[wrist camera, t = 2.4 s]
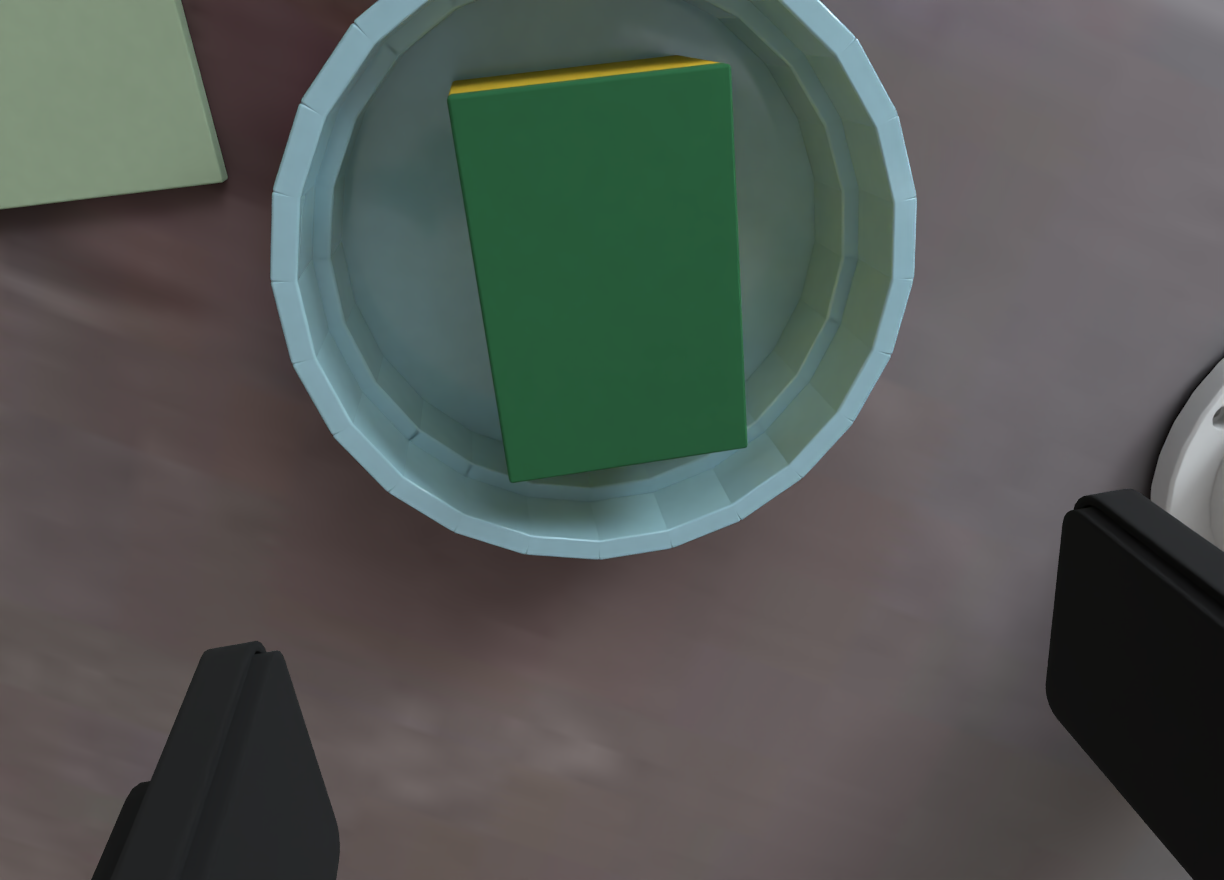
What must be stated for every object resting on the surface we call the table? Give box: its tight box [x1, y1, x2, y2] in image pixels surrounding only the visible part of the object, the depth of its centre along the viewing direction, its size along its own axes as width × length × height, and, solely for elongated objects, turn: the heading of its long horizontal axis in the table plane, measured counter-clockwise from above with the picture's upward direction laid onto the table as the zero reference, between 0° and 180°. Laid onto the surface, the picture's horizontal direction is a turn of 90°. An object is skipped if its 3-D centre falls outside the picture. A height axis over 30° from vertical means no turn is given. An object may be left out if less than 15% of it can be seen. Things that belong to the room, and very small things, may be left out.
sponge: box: [447, 55, 748, 483], centre depth 24 cm, size 9×6×6 cm, turn 6°
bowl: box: [270, 0, 917, 560], centre depth 25 cm, size 15×15×5 cm
